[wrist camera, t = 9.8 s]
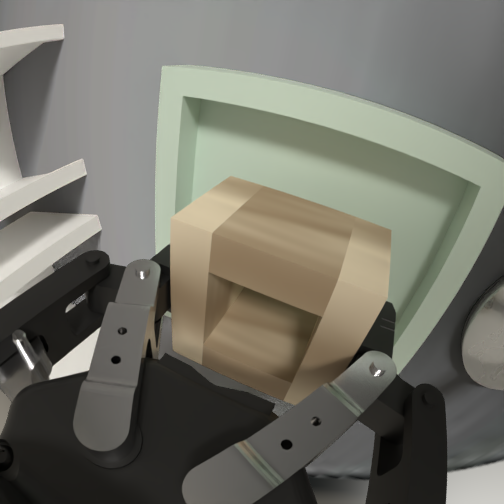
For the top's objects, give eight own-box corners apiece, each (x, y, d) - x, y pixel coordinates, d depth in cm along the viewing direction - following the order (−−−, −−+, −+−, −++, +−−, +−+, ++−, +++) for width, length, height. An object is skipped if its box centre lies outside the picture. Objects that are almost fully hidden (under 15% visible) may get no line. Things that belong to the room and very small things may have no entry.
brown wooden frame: (230, 175, 12) (170, 217, 9) (391, 229, 11) (387, 297, 8) (214, 317, 17) (174, 370, 14) (326, 363, 15) (304, 428, 12)
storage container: (2, 71, 18) (-100, 109, 9) (65, 23, 14) (-88, 55, 5) (69, 303, 30) (0, 366, 22) (140, 330, 26) (59, 420, 18)
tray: (189, 64, 13) (162, 66, 11) (500, 156, 10) (517, 170, 8) (176, 292, 21) (158, 312, 19) (379, 374, 18) (375, 401, 16)
